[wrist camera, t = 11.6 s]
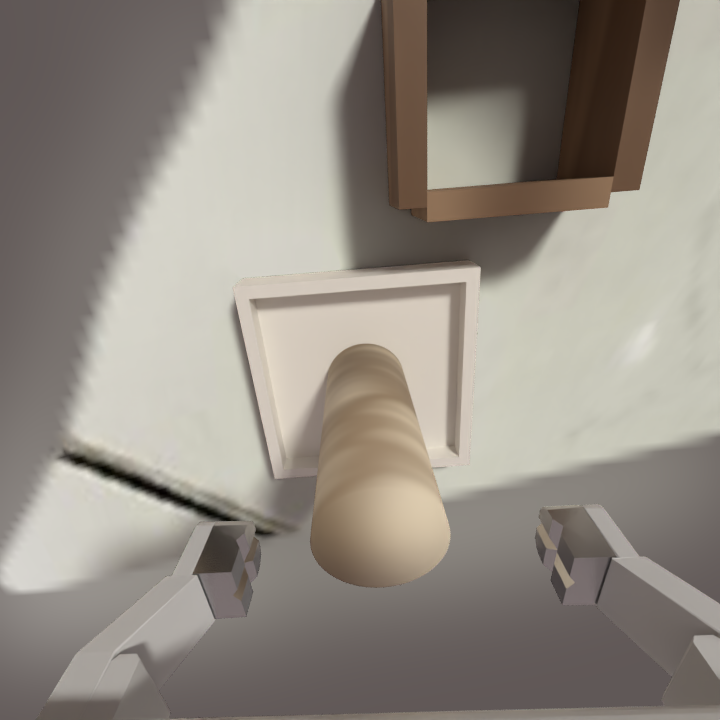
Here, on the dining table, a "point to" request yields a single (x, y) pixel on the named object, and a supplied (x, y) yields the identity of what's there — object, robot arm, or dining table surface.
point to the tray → (362, 326)
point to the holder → (581, 124)
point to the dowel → (374, 477)
